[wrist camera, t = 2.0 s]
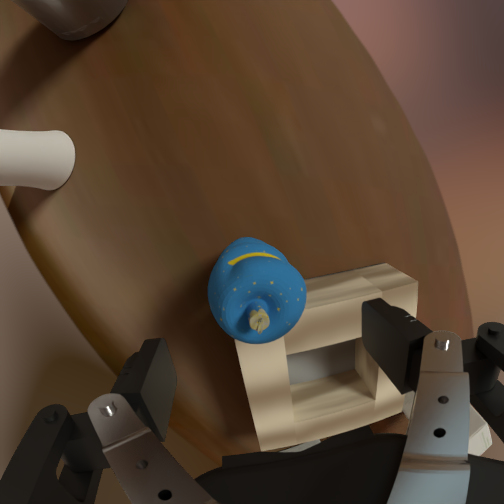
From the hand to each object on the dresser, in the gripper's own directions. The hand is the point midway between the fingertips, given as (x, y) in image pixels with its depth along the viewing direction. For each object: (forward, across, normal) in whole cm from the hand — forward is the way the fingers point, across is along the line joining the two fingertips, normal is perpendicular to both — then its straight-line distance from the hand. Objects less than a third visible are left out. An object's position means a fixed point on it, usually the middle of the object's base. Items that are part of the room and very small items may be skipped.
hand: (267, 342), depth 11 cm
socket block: (+16, -6, +12) cm, 21 cm away
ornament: (+16, 0, 0) cm, 16 cm away
